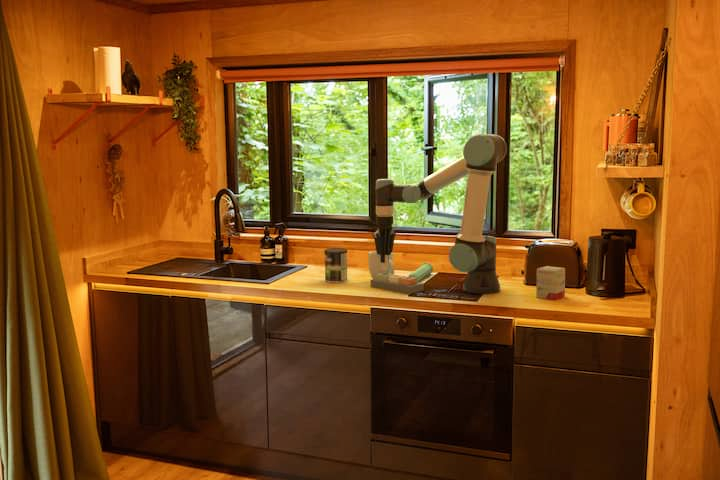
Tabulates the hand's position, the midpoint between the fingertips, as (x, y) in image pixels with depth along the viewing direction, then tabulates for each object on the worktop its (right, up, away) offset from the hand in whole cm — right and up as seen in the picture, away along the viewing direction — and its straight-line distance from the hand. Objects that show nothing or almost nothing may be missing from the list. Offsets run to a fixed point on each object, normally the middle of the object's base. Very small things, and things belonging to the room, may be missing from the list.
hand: (384, 269), depth 309 cm
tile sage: (0, -5, +1) cm, 5 cm away
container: (+16, -5, +16) cm, 23 cm away
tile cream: (+5, -6, -4) cm, 9 cm away
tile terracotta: (+10, -6, -8) cm, 14 cm away
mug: (-1, -6, +12) cm, 13 cm away
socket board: (+5, -8, -4) cm, 10 cm away
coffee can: (-21, -6, +15) cm, 27 cm away
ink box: (+65, -10, -23) cm, 70 cm away
